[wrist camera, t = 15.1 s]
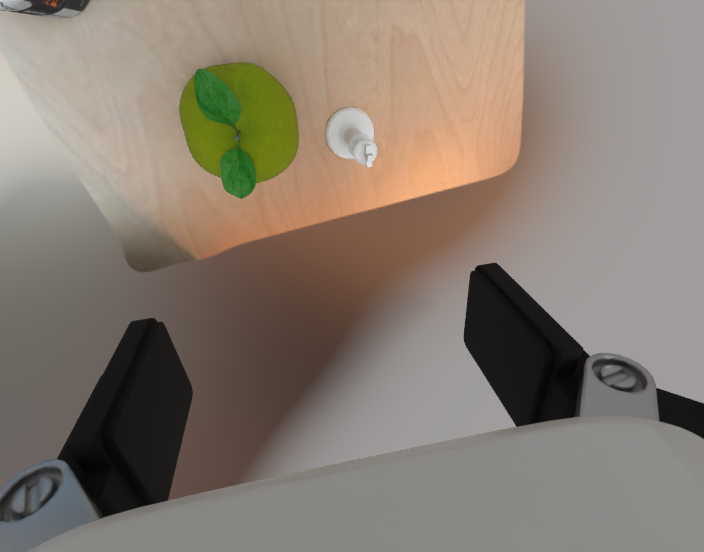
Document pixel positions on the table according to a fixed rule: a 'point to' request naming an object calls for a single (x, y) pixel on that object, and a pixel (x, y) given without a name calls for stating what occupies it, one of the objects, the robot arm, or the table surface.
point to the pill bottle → (45, 7)
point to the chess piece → (352, 135)
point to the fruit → (239, 124)
